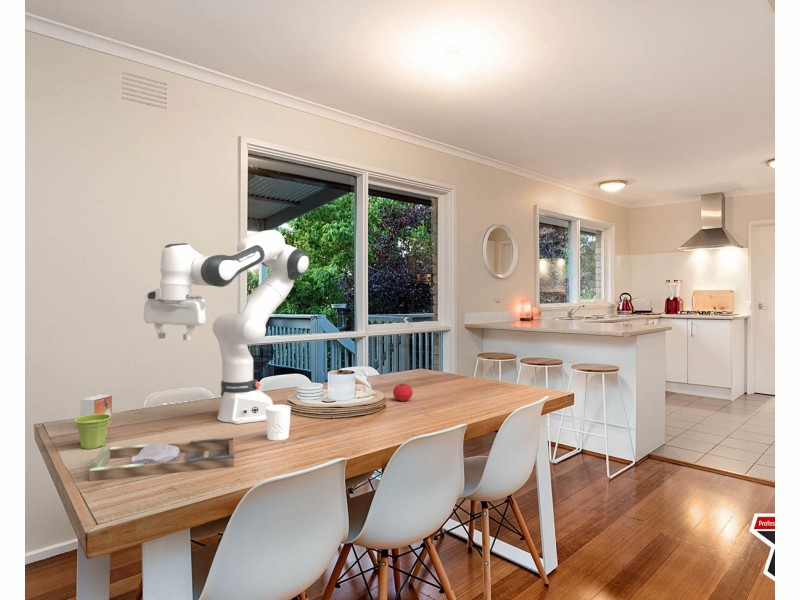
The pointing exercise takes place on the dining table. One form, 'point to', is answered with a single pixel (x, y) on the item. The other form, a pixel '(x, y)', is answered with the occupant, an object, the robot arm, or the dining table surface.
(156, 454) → the stone block
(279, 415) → the white cup
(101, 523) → the dining table surface
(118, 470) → the box
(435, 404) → the dining table surface
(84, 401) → the small box
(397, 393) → the tomato
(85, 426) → the plant pot
